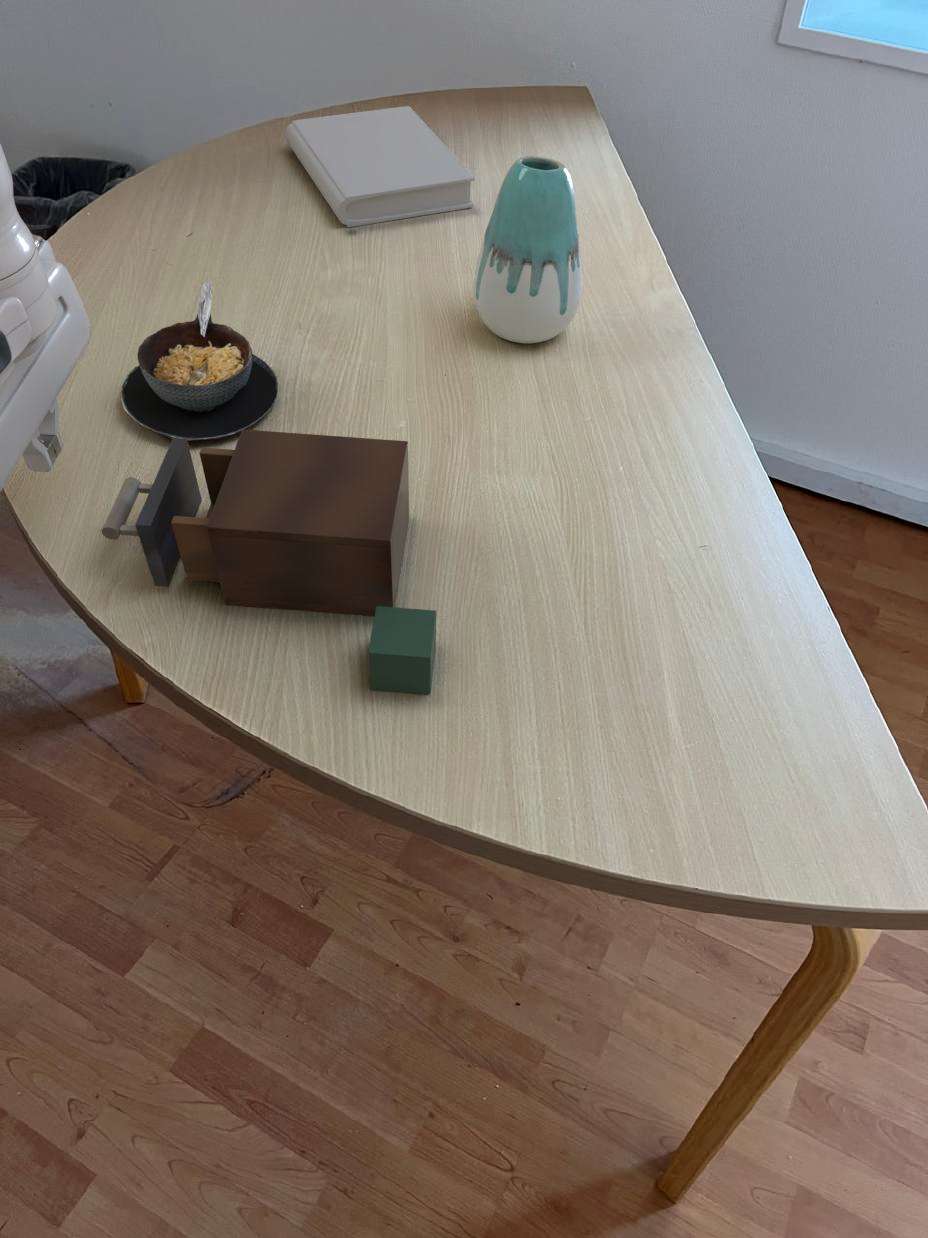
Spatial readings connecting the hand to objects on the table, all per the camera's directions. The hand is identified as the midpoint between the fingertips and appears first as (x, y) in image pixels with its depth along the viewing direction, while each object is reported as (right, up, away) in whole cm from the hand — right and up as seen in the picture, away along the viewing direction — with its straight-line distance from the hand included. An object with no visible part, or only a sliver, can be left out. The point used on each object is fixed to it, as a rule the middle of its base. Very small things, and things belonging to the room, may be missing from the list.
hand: (47, 459), depth 72 cm
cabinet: (+20, -7, +6) cm, 22 cm away
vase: (+39, +20, +31) cm, 53 cm away
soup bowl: (+7, +10, +20) cm, 23 cm away
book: (+21, +47, +53) cm, 74 cm away
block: (+28, -16, -1) cm, 32 cm away
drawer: (+12, -6, +6) cm, 15 cm away
